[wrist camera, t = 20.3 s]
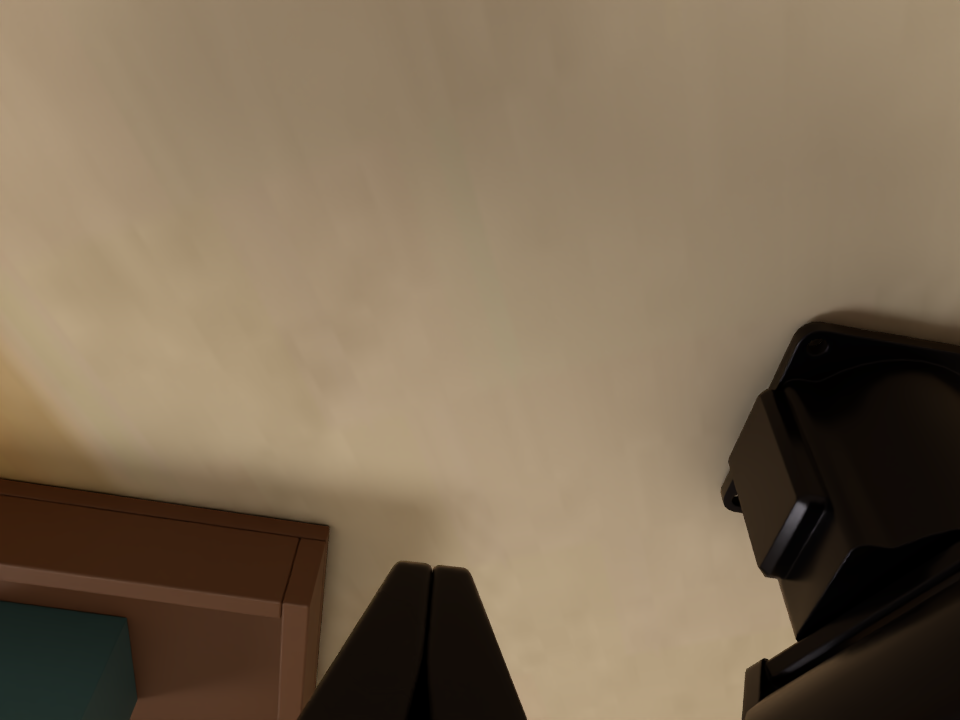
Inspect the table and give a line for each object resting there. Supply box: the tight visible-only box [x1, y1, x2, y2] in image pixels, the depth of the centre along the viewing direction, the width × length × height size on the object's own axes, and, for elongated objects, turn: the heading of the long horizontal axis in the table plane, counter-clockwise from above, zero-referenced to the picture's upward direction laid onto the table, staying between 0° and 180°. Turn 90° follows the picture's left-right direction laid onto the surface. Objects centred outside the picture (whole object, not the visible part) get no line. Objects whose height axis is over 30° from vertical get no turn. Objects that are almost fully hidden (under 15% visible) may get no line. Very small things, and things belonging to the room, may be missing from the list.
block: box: [0, 601, 137, 720], centre depth 29 cm, size 5×5×4 cm
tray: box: [0, 479, 329, 720], centre depth 30 cm, size 15×16×3 cm
